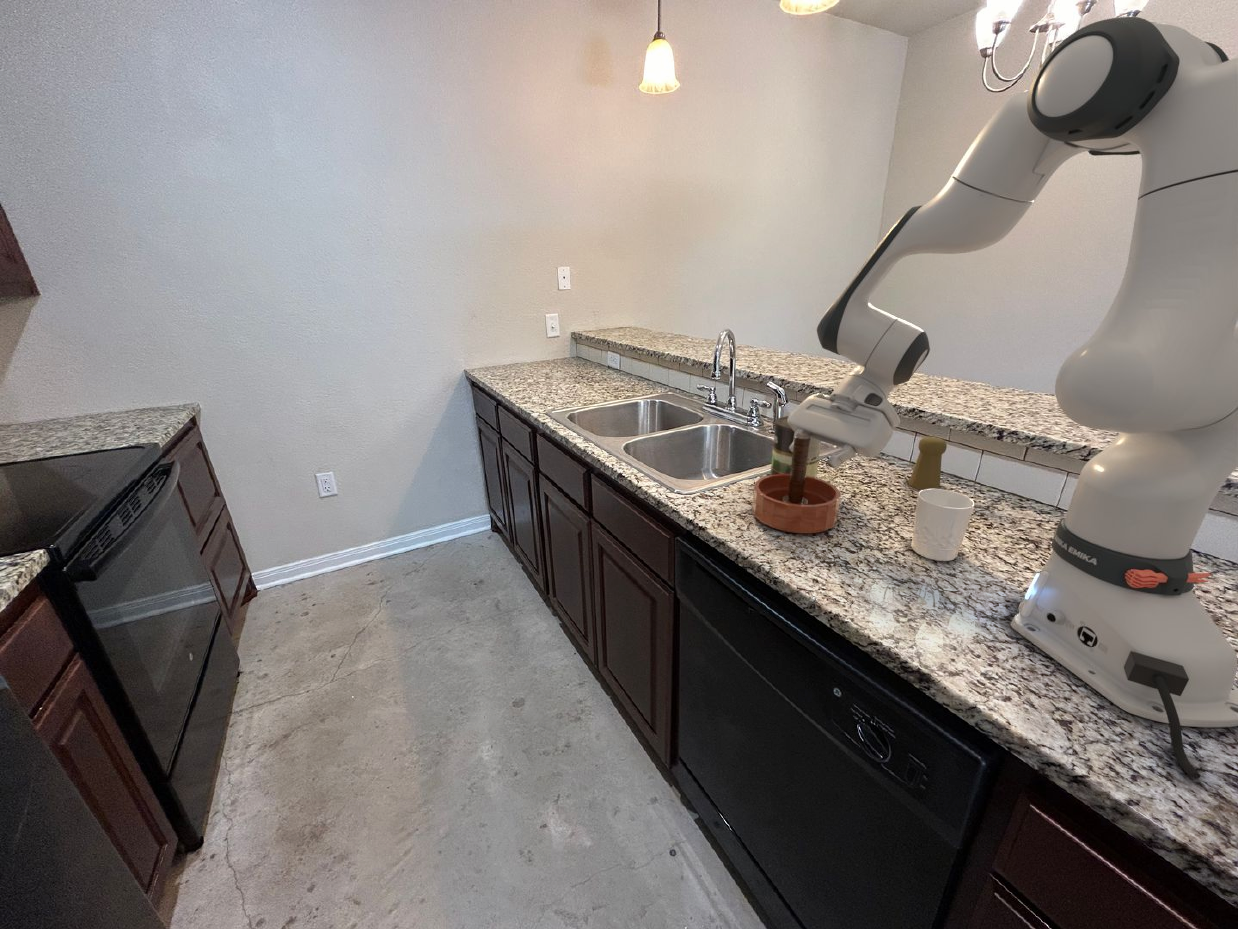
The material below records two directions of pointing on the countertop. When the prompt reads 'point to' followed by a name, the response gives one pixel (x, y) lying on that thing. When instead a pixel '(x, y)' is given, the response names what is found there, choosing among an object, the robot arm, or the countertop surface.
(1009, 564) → the countertop surface
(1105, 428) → the robot arm
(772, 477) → the bowl
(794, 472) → the muddler
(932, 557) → the white cup
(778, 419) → the coffee can
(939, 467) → the pepper grinder
